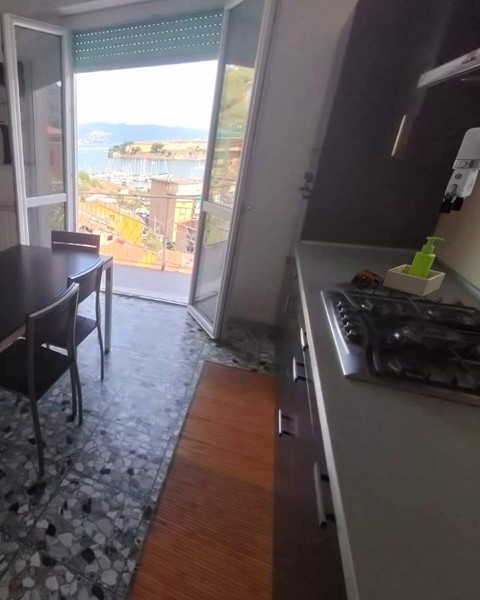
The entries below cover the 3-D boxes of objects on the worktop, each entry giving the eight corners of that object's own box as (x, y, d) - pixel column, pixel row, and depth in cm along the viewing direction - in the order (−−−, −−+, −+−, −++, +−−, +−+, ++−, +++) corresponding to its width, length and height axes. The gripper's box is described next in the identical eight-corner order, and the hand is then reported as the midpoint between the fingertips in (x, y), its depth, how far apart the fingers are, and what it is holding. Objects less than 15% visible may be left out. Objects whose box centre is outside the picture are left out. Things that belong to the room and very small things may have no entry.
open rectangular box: (438, 289, 148) (445, 273, 145) (422, 296, 141) (429, 280, 138) (399, 279, 159) (405, 264, 156) (382, 285, 152) (387, 270, 149)
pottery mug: (345, 281, 158) (359, 266, 155) (365, 294, 155) (380, 278, 153) (353, 284, 147) (369, 267, 144) (375, 297, 144) (391, 281, 142)
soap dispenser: (428, 287, 147) (448, 240, 139) (407, 284, 150) (425, 238, 142) (423, 282, 152) (442, 236, 144) (403, 280, 155) (420, 235, 147)
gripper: (473, 165, 124) (453, 215, 131) (490, 164, 132) (471, 211, 138) (444, 165, 130) (427, 212, 137) (463, 163, 138) (445, 208, 145)
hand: (449, 211), depth 138 cm, fingers open, 9 cm apart
